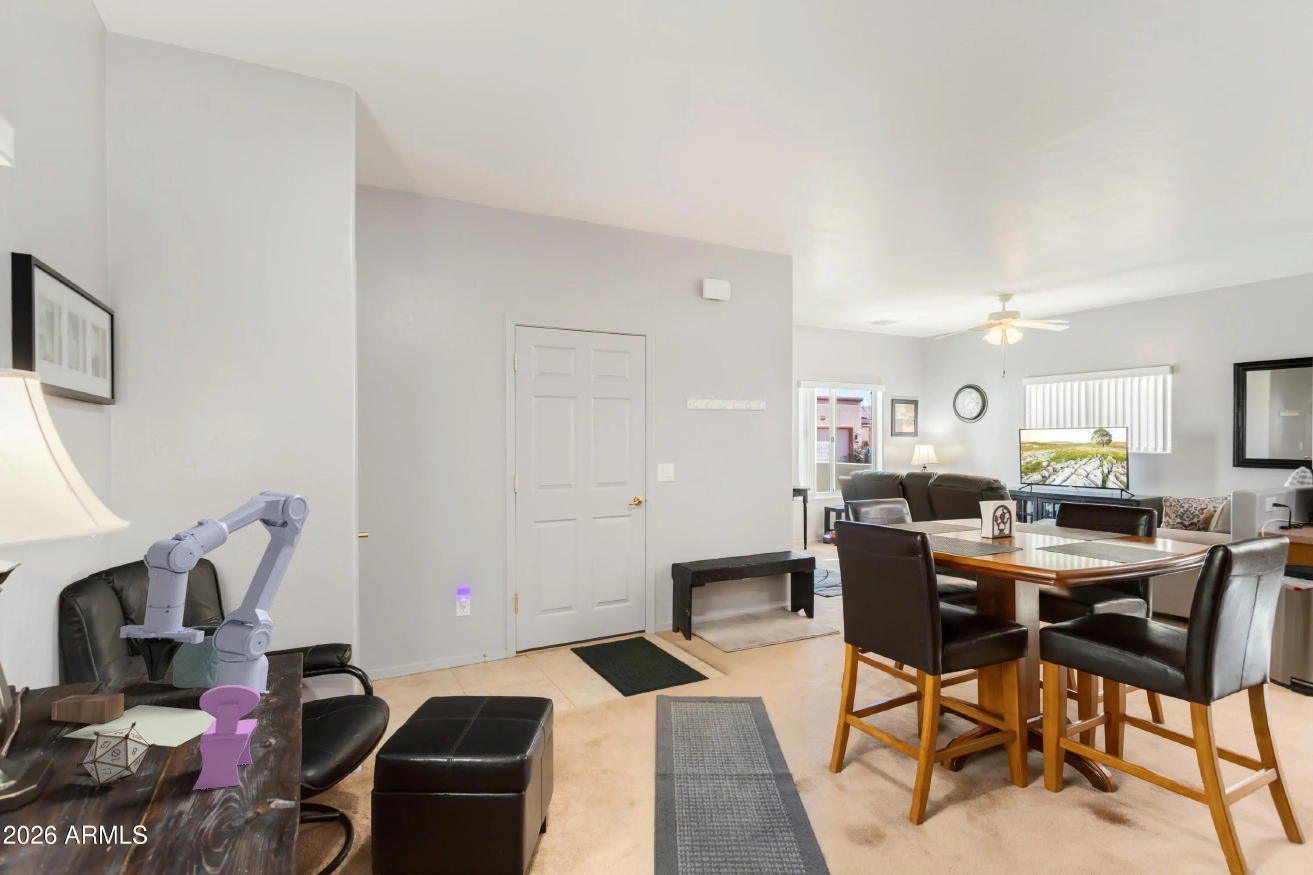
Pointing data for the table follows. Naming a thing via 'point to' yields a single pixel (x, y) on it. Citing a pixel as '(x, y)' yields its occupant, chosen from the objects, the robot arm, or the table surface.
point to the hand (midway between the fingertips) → (156, 679)
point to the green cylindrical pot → (197, 662)
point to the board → (154, 725)
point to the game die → (115, 755)
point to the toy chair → (226, 734)
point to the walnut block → (89, 708)
